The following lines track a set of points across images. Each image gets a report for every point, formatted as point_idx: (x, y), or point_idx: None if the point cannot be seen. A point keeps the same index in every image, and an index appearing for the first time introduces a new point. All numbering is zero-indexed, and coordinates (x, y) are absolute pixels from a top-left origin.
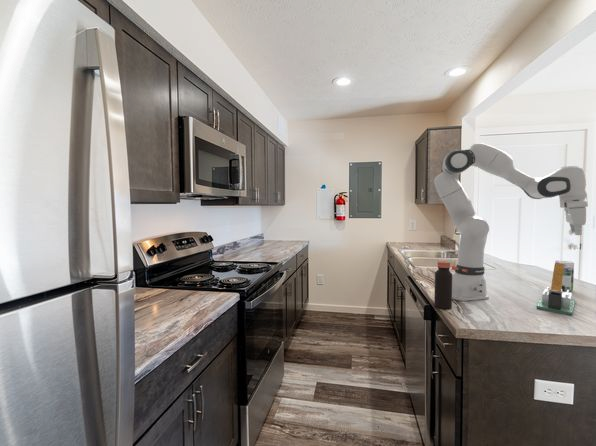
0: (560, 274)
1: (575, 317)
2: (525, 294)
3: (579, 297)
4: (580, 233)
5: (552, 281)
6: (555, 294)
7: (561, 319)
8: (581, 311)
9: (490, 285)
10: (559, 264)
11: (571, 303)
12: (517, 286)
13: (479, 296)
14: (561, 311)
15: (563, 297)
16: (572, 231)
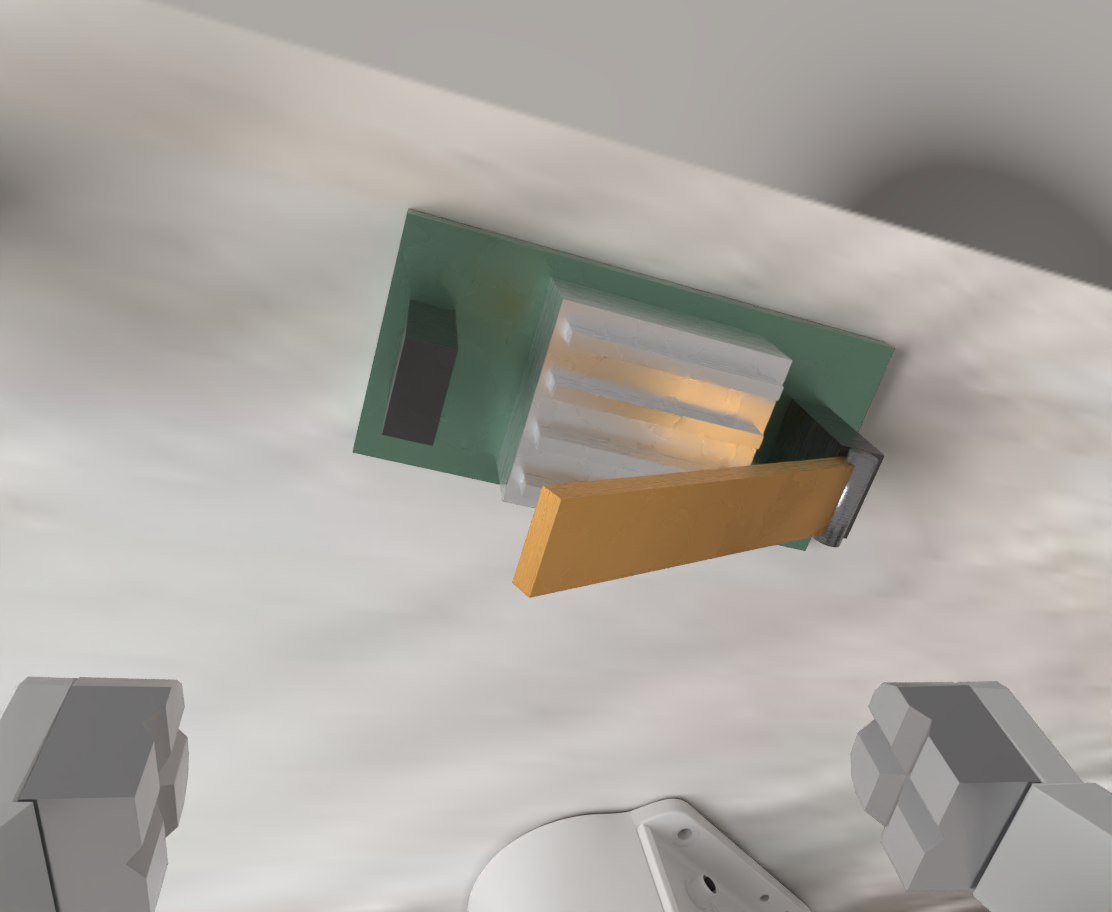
0: (703, 504)
1: (920, 329)
2: (379, 571)
3: (185, 114)
4: (1011, 722)
5: (758, 545)
6: (865, 495)
7: (997, 428)
8: (736, 243)
9: (201, 799)
10: (561, 546)
11: (609, 289)
12: (69, 609)
13: (711, 857)
14: (864, 408)
15: (772, 406)
16: (177, 802)
